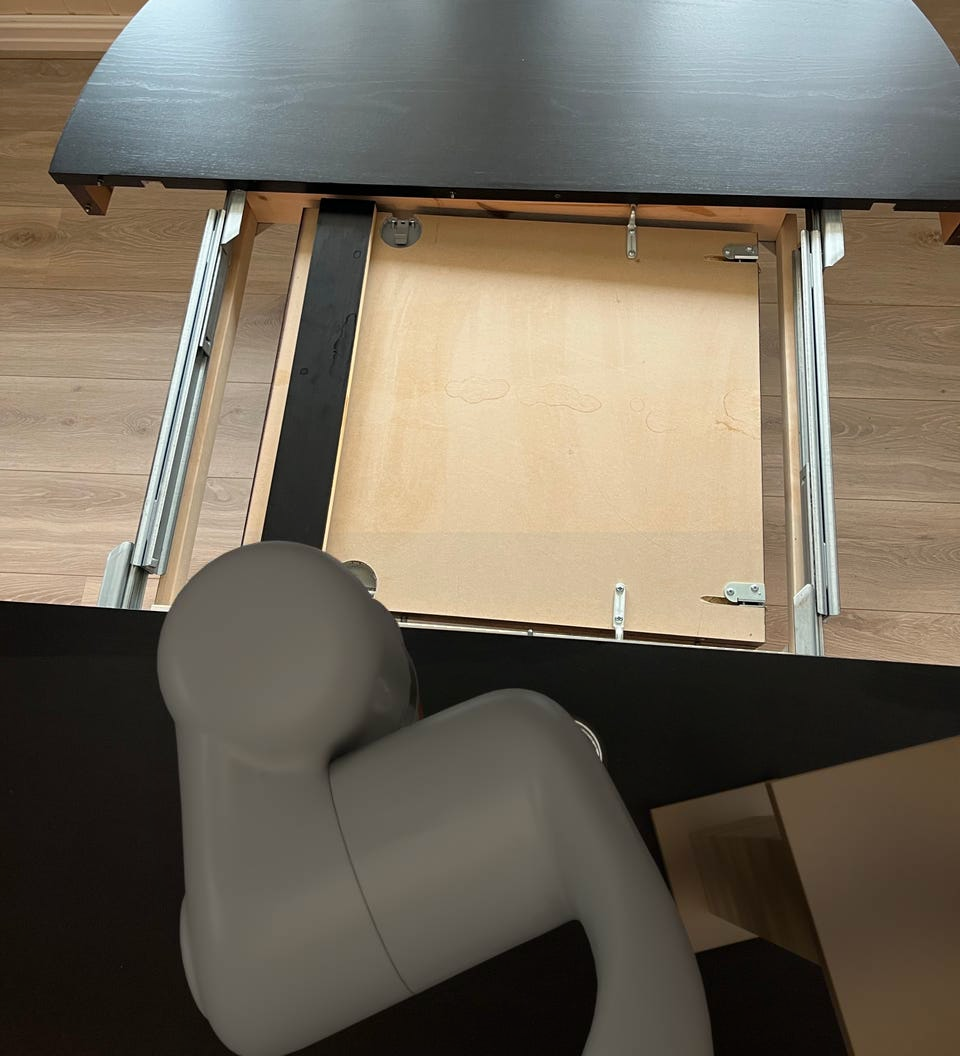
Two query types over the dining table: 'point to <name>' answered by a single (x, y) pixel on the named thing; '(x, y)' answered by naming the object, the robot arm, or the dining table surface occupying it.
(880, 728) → the dining table surface
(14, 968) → the dining table surface
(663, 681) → the dining table surface
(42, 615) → the dining table surface
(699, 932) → the pedestal
